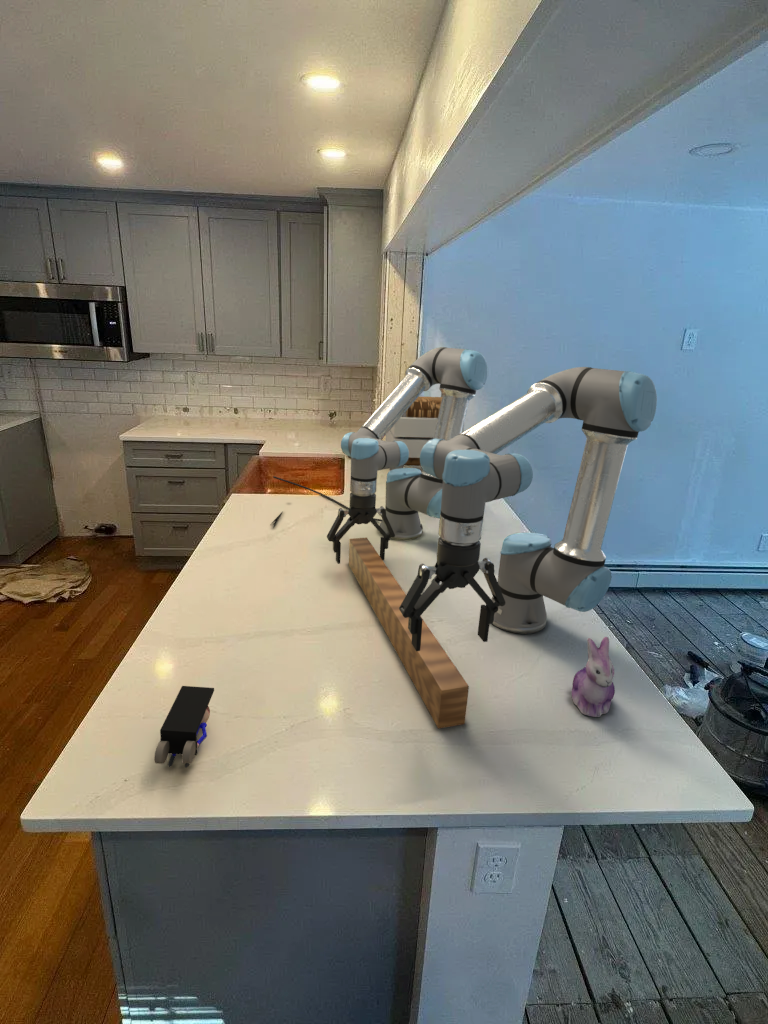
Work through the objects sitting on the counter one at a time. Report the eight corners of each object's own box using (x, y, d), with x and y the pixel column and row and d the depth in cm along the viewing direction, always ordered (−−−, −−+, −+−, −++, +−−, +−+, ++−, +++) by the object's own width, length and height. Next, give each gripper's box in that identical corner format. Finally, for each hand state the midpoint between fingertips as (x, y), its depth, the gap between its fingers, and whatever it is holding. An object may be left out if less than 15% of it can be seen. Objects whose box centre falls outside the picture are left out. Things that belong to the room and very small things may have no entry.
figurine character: (196, 782, 95) (218, 713, 108) (191, 750, 92) (215, 683, 105) (155, 781, 95) (183, 712, 108) (149, 749, 91) (178, 682, 105)
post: (348, 564, 174) (349, 538, 171) (366, 563, 176) (366, 537, 173) (438, 729, 108) (441, 690, 105) (464, 724, 109) (469, 686, 106)
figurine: (594, 725, 110) (608, 660, 105) (557, 694, 119) (568, 632, 114) (628, 712, 114) (643, 648, 109) (590, 683, 123) (602, 622, 118)
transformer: (382, 463, 289) (386, 382, 275) (445, 464, 293) (451, 384, 279) (390, 482, 257) (394, 392, 243) (460, 483, 261) (468, 394, 247)
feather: (289, 506, 225) (292, 502, 225) (272, 529, 199) (275, 525, 198) (286, 503, 225) (288, 500, 225) (268, 527, 199) (271, 522, 198)
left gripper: (322, 498, 156) (321, 568, 163) (408, 495, 163) (403, 562, 170) (317, 490, 163) (316, 558, 170) (400, 487, 170) (395, 552, 177)
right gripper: (398, 552, 93) (392, 662, 100) (533, 541, 100) (518, 645, 107) (385, 535, 100) (380, 639, 107) (512, 526, 107) (499, 624, 114)
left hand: (360, 560), depth 170 cm, fingers open, 13 cm apart
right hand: (449, 642), depth 107 cm, fingers open, 13 cm apart
